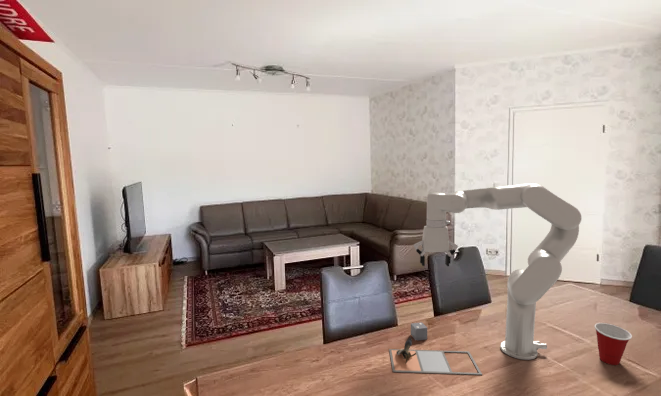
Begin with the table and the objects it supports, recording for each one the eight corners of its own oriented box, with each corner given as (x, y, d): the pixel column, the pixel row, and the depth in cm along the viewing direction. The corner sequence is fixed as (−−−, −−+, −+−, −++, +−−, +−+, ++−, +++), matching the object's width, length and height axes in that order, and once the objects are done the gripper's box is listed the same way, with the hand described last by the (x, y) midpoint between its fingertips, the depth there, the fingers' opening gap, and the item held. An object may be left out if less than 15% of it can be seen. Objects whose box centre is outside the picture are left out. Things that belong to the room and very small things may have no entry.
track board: (469, 352, 139) (469, 351, 139) (482, 375, 125) (482, 374, 125) (389, 349, 141) (389, 349, 141) (392, 372, 127) (392, 371, 127)
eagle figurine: (422, 360, 131) (416, 343, 139) (412, 347, 129) (406, 330, 138) (403, 370, 132) (399, 352, 141) (393, 357, 130) (389, 340, 139)
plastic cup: (619, 373, 125) (622, 340, 124) (585, 357, 135) (588, 326, 133) (635, 364, 130) (638, 332, 129) (601, 350, 140) (604, 320, 138)
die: (421, 333, 154) (422, 322, 153) (427, 339, 149) (427, 327, 148) (410, 334, 153) (410, 323, 152) (415, 340, 148) (416, 328, 147)
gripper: (455, 221, 149) (454, 262, 151) (412, 221, 150) (411, 262, 152) (461, 225, 141) (459, 268, 143) (415, 225, 142) (414, 267, 145)
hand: (435, 265), depth 148 cm, fingers open, 9 cm apart
